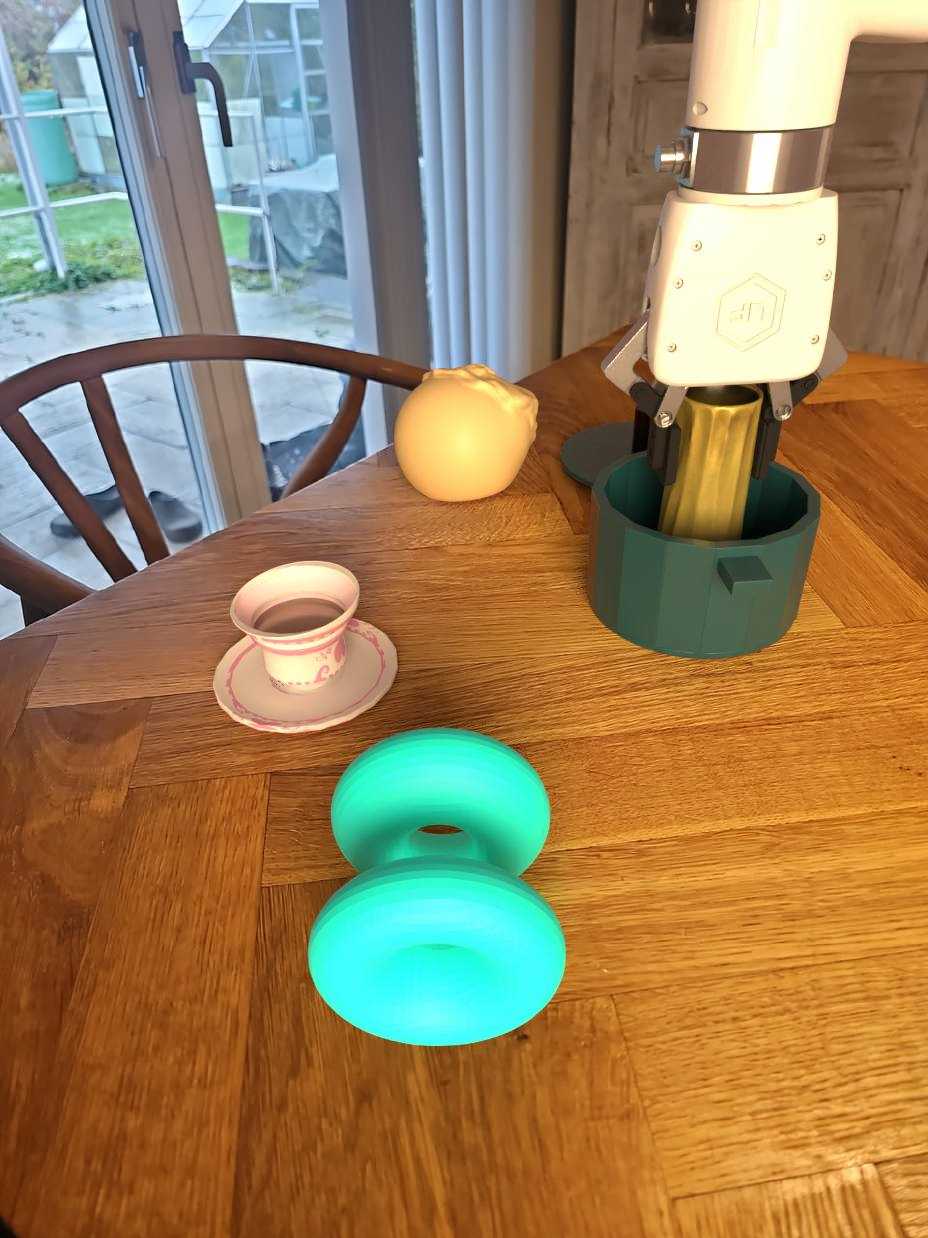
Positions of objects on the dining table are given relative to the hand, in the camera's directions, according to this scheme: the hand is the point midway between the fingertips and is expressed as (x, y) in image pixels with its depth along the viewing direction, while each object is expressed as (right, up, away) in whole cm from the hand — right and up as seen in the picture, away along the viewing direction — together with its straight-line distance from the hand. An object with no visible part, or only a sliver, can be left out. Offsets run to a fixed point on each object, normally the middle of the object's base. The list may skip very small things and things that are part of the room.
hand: (708, 471), depth 56 cm
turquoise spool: (-17, -25, -17) cm, 35 cm away
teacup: (-26, -13, 0) cm, 30 cm away
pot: (0, -8, +6) cm, 10 cm away
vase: (0, -7, +5) cm, 9 cm away
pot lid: (+1, +5, +23) cm, 24 cm away
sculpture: (-16, +2, +22) cm, 27 cm away
